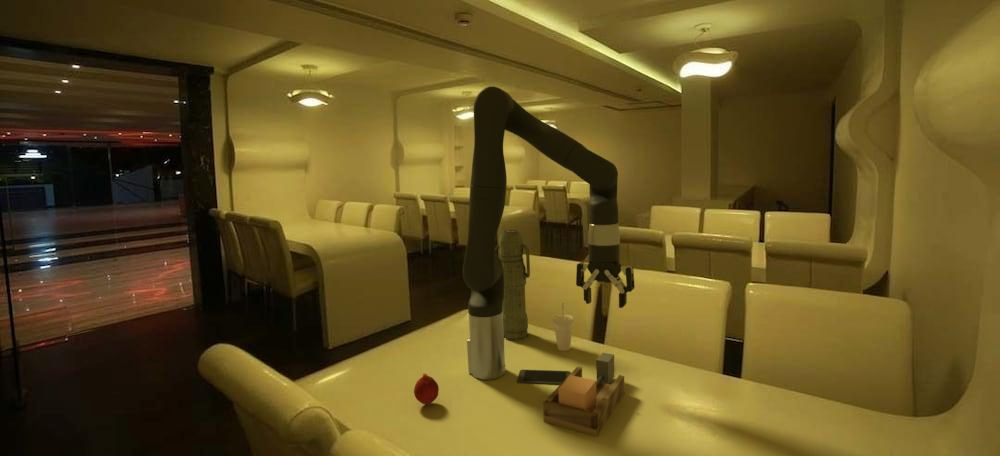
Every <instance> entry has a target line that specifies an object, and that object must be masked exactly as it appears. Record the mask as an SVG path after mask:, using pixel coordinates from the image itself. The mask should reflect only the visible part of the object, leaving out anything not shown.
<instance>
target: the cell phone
mask: <svg viewBox="0 0 1000 456" xmlns="http://www.w3.org/2000/svg"><path fill="white" fill-rule="evenodd" d="M571 373H572V372H571V371H570V370H550V369H549V370H547V369H545V370H543V369H542V370H541V369H521V370H520V371H519V372H518V375H517V379H516V382H517V384H525V385H526V384H527V385H531V384H532V385H548V386H549V385H552V386H553V385H555V386H559V385H560V384H561V383H562V382H563V381H564V380H565V379H566V378H567V377H568V376H569V375H570V374H571Z"/></svg>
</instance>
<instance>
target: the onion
mask: <svg viewBox="0 0 1000 456" xmlns="http://www.w3.org/2000/svg"><path fill="white" fill-rule="evenodd" d="M439 391H440V388H439V385H438V382H437V381H436V380H435V379H434V378H433V376H430V375H428V374H427V372H423V373H422V376H421V377H420V378H419V379H417V380H416V383H415V385H414V388H413V394H414V397H415V399H416V400H417V401H418V402H419V403H421V404H423V405H424V404H425V405H424V406H429V405H430V404H432V403H433V402H434V401H435V400H436V399H437V398H438V396H439ZM428 404H429V405H428Z"/></svg>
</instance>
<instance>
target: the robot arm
mask: <svg viewBox="0 0 1000 456" xmlns="http://www.w3.org/2000/svg"><path fill="white" fill-rule="evenodd" d="M473 130H474V131H473V132H474V133H473V134H474V137H473V138H474V143H473V145H474V146H473V154H472V165H471V176H470V186H469V205H468V207H469V210H468V221H467V222H468V224H467V225H468V231H467V243H466V249H465V254H464V259H463V264H462V278H463V281H464V283H465V285H466V286H467V287H468V288H469V289H470V291H471V293H470V297H469V299H468V304H467V313H468V327H469V338H468V339H467V340H466V348H467V349H466V350H467V351H466V352H467V367H468V374H470V373H471V375H472V376H473V377H474V378H476V379H478V378H479V380H484V381H485V380H486V381H488V380H496V379H498V378H501V377H502V376H503V375H505V374H506V359H505V357H506V355H505V354H506V353H505V339H504V331H503V309H502V305H503V299H504V272H503V265H502V262H501V260H500V259H501V258H500V257H499V255H498V256H497V255H496V254H495V247H496V240H497V234H498V231H499V228H500V224H501V221H502V218H503V215H504V210H505V205H506V196H507V195H506V194H507V183H508V181H507V180H508V179H507V178H508V177H507V170H506V162H505V160H506V159H505V156H504V139H505V131H507V132H509V133H512V134H514V135H515V136H517V137H519V138H521V139H522V140H524V141H525V142H527V143H528V144H530V145H531V146H532V147H533V148H535V149H536V150H537V151H538V152H540V153H541V154H542V155H544V156H545V157H547V158H548V159H550V161H551V160H552V161H553V162H554V163H556V164H557V165H559V166H561V167H563V168H564V169H566V170H567V171H570V172H572V173H573V174H575V176H577V177H578V178H580V179H581V180H583V181H584V182H585V183H587V184H588V185H589V197H590V198H589V199H590V200H589V204H588V205H589V207H588V223H589V224H588V226H589V227H588V232H587V233H588V235H587V236H588V263H585V262H584V261H580V262H579V263H577V264H576V275H575V276H576V277H575V278H576V279H575V281H576V282H575V285H576V286H577V287H579V288H581V289H583V290H582V291H583V300H584V302H585V304H587V305H590V304H591V303H592V287H591V286H592V285H593V283H594V282H595V281H597V283H602V282H603V283H607V284H609V283H612V285H613V286H614V287H616V289H617V290H618V292H619V293H618V308H619V309H623V308H624V307H625V306H626V305H627V299H628V297H627V295H628V294H627V293H631V292H632V291H633V290H634V289H635V274H634V272H635V271H634V266H633V265H627V266H622V264H621V261H620V260H621V247H620V245H621V236H620V226H619V205H618V200H617V199H618V181H619V180H618V177H619V171H618V168H617V166H616V164H614V163H613V162H612V161H610V160H608V159H606V158H605V157H602V156H600V155H599V154H597V153H596V152H594V151H592V150H589V149H588V148H587V147H586V146H585V145H583V144H582V143H580V142H579V141H577V139H575V138H573V137H571V136H569V135H568V134H566V133H565V132H563V131H561V130H559V129H557V128H555V127H554V126H551V125H550V124H548V123H546V122H544V121H542V120H540V119H539V118H537V117H535V116H534V115H533V114H531V113H530V112H528V111H527V110H526V109H524V107H522V106H521V105H520V104H519V103H518V102H516V100H515V99H514V98H513V97H512V96H511V95H510V94H509V93H508V92H507V91H505V90H504V89H502V88H500V87H498V86H493V85H492V86H490V85H489V86H486V87H483V88H482V89H481V90H479V91H478V93H477V94H476V96H475V99H474V102H473ZM587 270H588V272H589V273H590V274H591V275H590V276H589V277H588V279H586V281H585V272H587ZM621 272H622V273H623V275H624V276H625V279H626V285H625V283H624V282H623V279H622V277H621V276H620V273H621Z"/></svg>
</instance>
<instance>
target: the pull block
mask: <svg viewBox="0 0 1000 456" xmlns="http://www.w3.org/2000/svg"><path fill="white" fill-rule="evenodd" d="M595 361H596V363H595V365H596V380H595V379H590V378H586V377H583V376H582V377H577V376H572V375H571V376H570V377H569V378H568V379H567V380H566V381H565V382H564V383H563V384H562V385H561V386H560V387H559V388H558V390H559V404H563V405H567V406H571V407H575V408H579V409H583V410H587V411H591V412H592V411H593V410H594V409H595V407H596V406H597V405H596V388H597V387H598V386H599V384H600V383H606V384H610V383H611V382H612V380H613V379H614V378H615V354H613V353H607V352H602V353H601V354H600V355H599V356H598V357H597V359H596V360H595Z"/></svg>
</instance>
